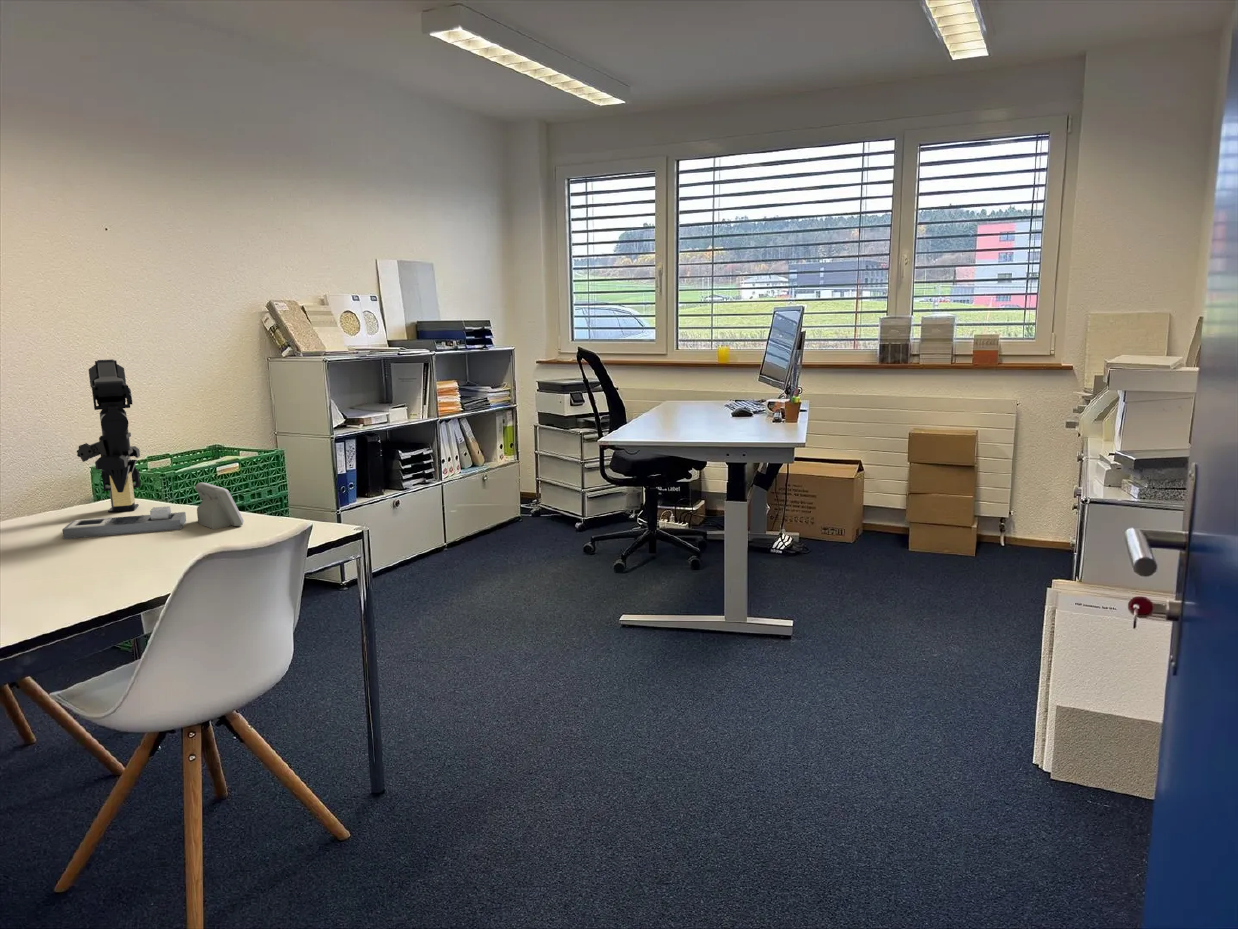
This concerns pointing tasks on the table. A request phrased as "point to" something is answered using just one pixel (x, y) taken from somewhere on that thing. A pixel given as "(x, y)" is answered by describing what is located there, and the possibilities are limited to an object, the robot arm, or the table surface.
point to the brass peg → (123, 493)
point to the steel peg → (160, 513)
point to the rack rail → (121, 525)
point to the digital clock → (217, 507)
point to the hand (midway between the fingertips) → (122, 490)
